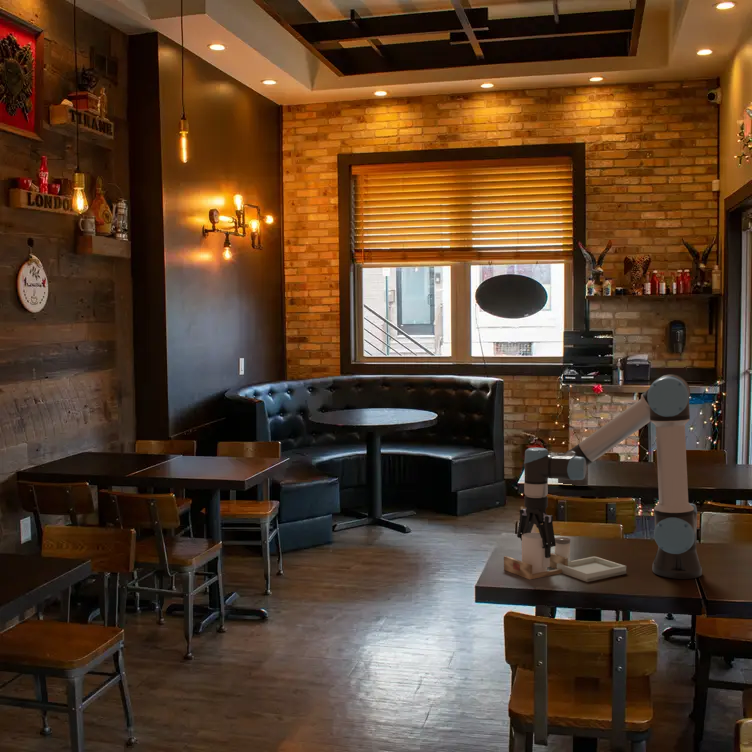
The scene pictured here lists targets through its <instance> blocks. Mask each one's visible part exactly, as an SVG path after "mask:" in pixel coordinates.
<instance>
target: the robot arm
mask: <svg viewBox="0 0 752 752" xmlns="http://www.w3.org/2000/svg"><path fill="white" fill-rule="evenodd" d="M690 396H691V389H690V386H689V383H688V382H687V381H686V380H685V379H684V378H683V377H681V376H680V375H677V374H673V373H671V374H670V373H669V374H663V375H661V376H660V377H657V379H655V380H654V381H653V382H652V383H651V384H650V386H649V388H648V389H646V390H645V391H644V392H643V393H642V394H641V395H640V399H639V400H637V401H636V402H634V403H633V404H632V405H630V406H629V407H628V408H626V409H625V410H624V411H622V412H621V413H619V414H617V416H615V417H614V418H612V419H611V420H609V421H608V422H607V423H606V424H604V425H602V426H601V427H599V428H598V429H597V430H596V431H594V432H593V433H591V434H590V435H588V437H586V438H585V439H583V440H582V441H580V442H579V443H578V444H576V445H575V446H574V447H572V448H571V449H569V450H567V451H566V452H564V453H565V454H564V453H563V454H564V455H563V456H558V455H553V454H552V455H551V454H549V451H548V449H547V448H544V447H529V448H526V449H525V451H524V461H523V465H524V471H523V473H524V483H523V484H524V485H523V487H524V489H523V490H524V491H523V493H524V495H525V496H524V497H523V498H524V499H523V500H524V508H522V509H519V521H518V527H517V534H516V537H517V538H519V539H520V542H522V534H525V533H532V531H533V527H534V525H535V527H536V528H537V529H538V533H540V536H541V538H542V543H543V547H542V568H546V567H547V568H551V567H550V557H551V553H552V548H553V547H554V548H555V546H556V543H555V538H556V537H555V531H554V530H555V529H554V524H553V523H554V522H553V521H554V515H552V514H551V515H548V514H547V511H546V509H547V508H548V506H549V505H548V503H549V497H548V496H547V495H548V494H549V493H548V492H549V491H548V490H549V488H548V484H549V483H548V482H549V481H548V479H557V480H558V479H569V480H583V479H584V478H585V475H586V467H587V466H588V467H589V465H591V464H592V463H594V461H597V460H598V459H599V458H601V457H602V456H603V455H605V454H606V453H608V452H609V451H610V450H612V449H613V448H615V447H616V446H617V445H619V444H620V443H622V442H623V441H624V440H626V439H628V438H629V437H630V436H632V435H633V434H635V433H637V432H638V431H639V430H640V429H642V428H643V427H644V426H645V425H648V423H650V422H651V423H652V424H653V425H654V426H655V441H656V461H657V463H656V464H657V483H658V484H657V485H658V486H657V487H658V503H657V504H656V505H655V506H654V508H653V509H654V510H653V511H654V529H653V539H654V541H655V543H656V545H657V546H658V548H657V551H656V554H655V556H654V560H653V561H652V573H654V574H655V575H658V576H660V577H663V578H670V579H678V580H690V579H697V578H700V577H702V574H703V572H702V571H703V570H702V569H703V567H702V565H701V563H700V560H699V555H698V552H697V524H698V520H697V519H698V517H697V515H698V509H697V505H696V504H694V503H690V502H689V490H688V489H689V487H688V465H687V446H686V445H687V444H686V443H687V441H686V424H687V423H688V422H689V421H690V420H691V415H690ZM546 543H547V544H546Z"/></svg>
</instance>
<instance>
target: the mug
mask: <svg viewBox="0 0 752 752" xmlns="http://www.w3.org/2000/svg"><path fill="white" fill-rule="evenodd" d="M521 534H522V533H521ZM546 544H547V543H546ZM542 547H543V543H542V538H541V536H540V533H539V532H531V533H525V534H522V541H521V561H522V562H525V563H528V564H531V565H532V574H536V573H541V572H546V571H548V567H546V568H542Z"/></svg>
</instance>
